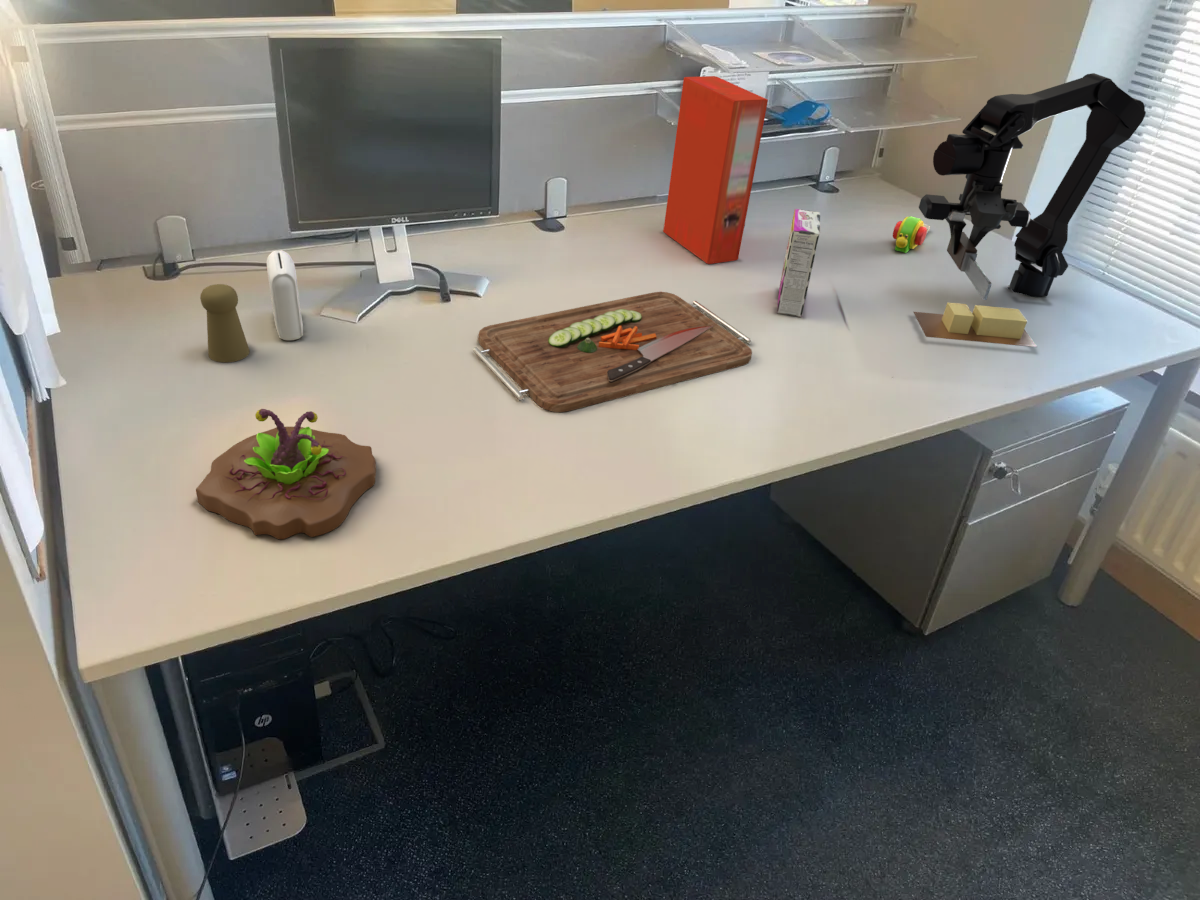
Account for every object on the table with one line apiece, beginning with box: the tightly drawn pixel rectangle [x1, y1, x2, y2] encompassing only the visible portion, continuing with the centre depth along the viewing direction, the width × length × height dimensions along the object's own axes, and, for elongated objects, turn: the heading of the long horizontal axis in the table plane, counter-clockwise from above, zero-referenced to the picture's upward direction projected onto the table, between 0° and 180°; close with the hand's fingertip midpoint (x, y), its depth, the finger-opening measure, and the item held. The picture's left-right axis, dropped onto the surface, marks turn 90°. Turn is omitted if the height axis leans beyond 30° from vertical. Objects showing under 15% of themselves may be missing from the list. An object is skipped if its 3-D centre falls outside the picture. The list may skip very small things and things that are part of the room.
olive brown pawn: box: [199, 283, 251, 363], centre depth 137 cm, size 6×6×11 cm
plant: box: [195, 408, 377, 540], centre depth 111 cm, size 20×20×11 cm
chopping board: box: [472, 291, 753, 413], centre depth 150 cm, size 45×27×3 cm, turn 122°
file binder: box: [662, 75, 769, 265], centre depth 181 cm, size 8×17×32 cm, turn 28°
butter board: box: [913, 311, 1038, 348], centre depth 165 cm, size 20×10×1 cm, turn 87°
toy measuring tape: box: [892, 215, 931, 254], centre depth 200 cm, size 6×20×7 cm, turn 145°
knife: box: [946, 231, 993, 301], centre depth 164 cm, size 2×22×4 cm, turn 177°
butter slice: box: [942, 301, 974, 334], centre depth 164 cm, size 4×5×4 cm
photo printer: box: [266, 249, 304, 341], centre depth 145 cm, size 10×4×12 cm, turn 20°
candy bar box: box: [776, 208, 821, 318], centre depth 166 cm, size 11×5×16 cm, turn 168°
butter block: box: [971, 304, 1028, 339], centre depth 164 cm, size 8×5×4 cm, turn 87°
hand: (960, 254), depth 170 cm, fingers closed on knife, 2 cm apart
